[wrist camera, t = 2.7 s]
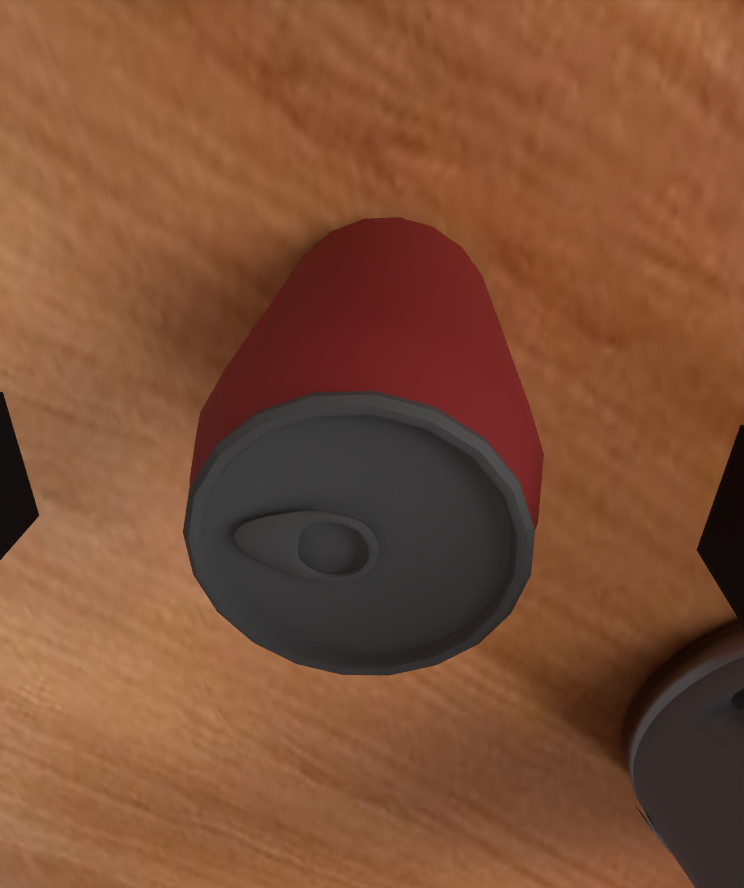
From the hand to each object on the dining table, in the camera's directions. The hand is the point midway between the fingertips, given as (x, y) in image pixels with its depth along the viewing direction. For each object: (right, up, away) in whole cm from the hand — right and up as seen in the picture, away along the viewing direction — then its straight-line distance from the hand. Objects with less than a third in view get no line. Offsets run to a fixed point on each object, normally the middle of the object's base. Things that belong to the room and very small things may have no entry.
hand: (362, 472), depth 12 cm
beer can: (+1, +5, +9) cm, 10 cm away
